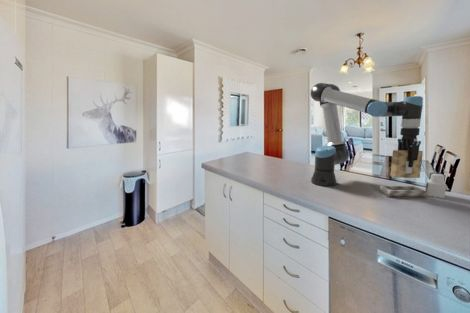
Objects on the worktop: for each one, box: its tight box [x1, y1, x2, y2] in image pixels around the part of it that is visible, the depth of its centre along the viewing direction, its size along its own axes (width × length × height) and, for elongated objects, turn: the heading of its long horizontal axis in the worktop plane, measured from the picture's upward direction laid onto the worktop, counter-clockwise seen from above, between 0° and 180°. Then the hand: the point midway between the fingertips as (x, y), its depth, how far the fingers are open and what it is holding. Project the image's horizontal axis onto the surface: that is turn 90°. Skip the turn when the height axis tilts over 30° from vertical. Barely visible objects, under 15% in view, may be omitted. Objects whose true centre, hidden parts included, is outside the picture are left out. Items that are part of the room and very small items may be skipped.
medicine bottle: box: [425, 172, 447, 199], centre depth 113 cm, size 7×7×12 cm
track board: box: [378, 185, 427, 199], centre depth 116 cm, size 18×9×4 cm, turn 85°
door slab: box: [390, 149, 424, 179], centre depth 113 cm, size 12×4×14 cm, turn 85°
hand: (405, 171), depth 114 cm, fingers closed on door slab, 4 cm apart
